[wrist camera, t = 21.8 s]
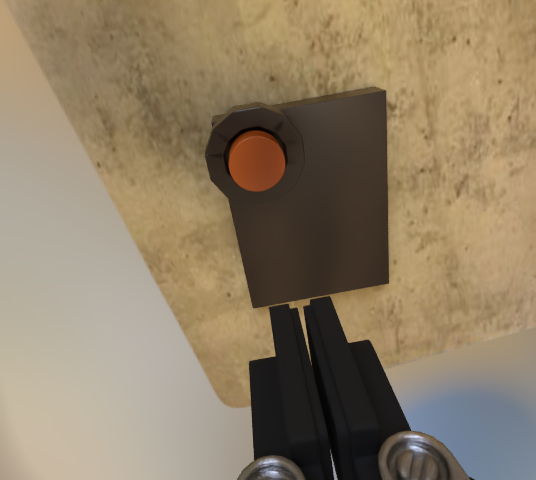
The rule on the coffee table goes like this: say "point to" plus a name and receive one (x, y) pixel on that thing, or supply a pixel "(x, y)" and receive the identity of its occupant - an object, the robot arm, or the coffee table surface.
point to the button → (256, 161)
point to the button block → (311, 196)
